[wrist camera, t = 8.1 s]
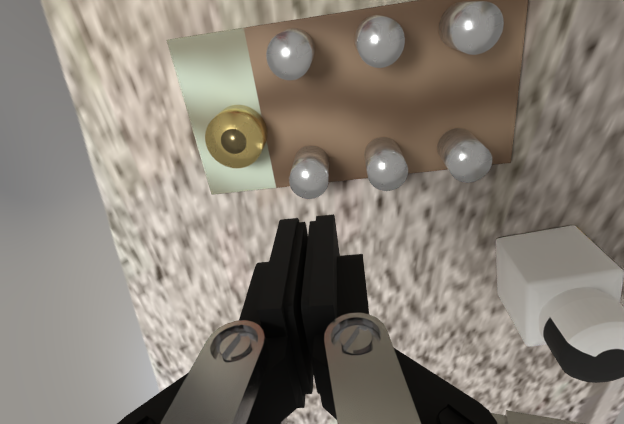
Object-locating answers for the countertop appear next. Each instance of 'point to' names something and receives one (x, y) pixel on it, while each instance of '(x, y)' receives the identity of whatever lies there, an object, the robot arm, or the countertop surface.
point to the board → (353, 92)
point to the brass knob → (236, 136)
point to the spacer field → (381, 53)
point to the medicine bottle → (565, 299)
